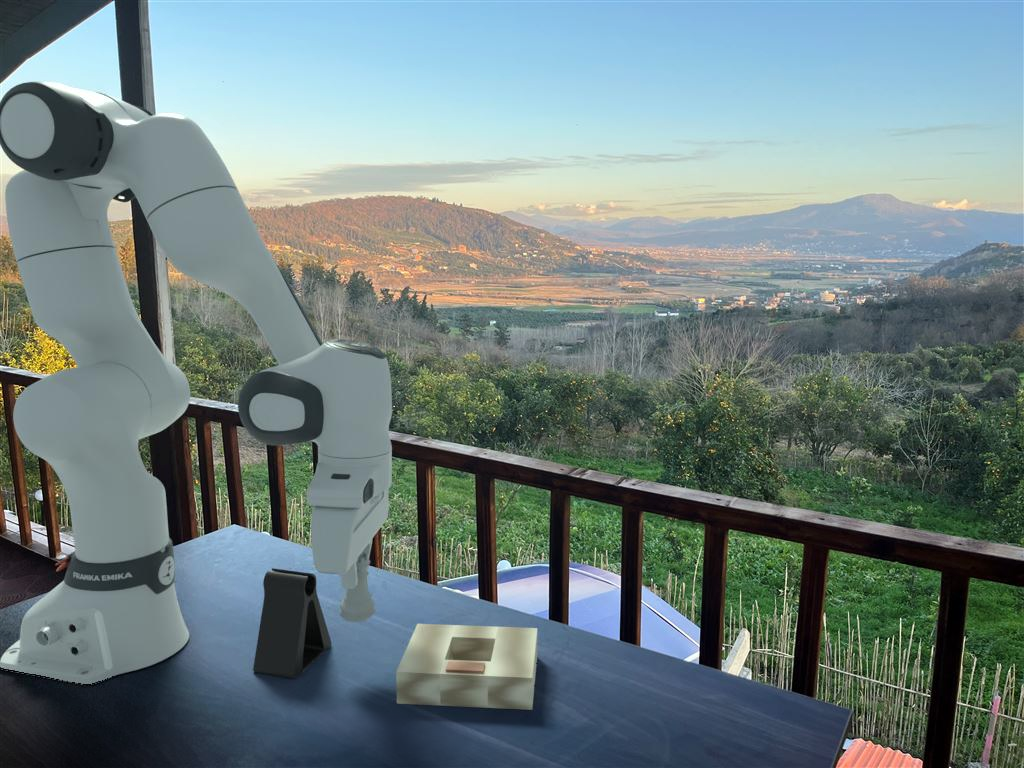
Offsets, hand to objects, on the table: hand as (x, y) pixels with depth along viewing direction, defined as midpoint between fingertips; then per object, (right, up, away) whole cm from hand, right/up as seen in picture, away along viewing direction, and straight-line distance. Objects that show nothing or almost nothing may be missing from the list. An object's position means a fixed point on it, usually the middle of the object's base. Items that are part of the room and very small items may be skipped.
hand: (355, 579), depth 92 cm
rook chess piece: (0, -5, +1) cm, 5 cm away
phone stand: (-9, -12, +4) cm, 16 cm away
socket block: (+15, -12, 0) cm, 19 cm away
